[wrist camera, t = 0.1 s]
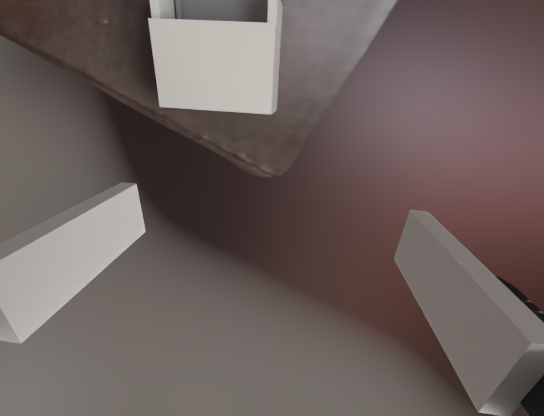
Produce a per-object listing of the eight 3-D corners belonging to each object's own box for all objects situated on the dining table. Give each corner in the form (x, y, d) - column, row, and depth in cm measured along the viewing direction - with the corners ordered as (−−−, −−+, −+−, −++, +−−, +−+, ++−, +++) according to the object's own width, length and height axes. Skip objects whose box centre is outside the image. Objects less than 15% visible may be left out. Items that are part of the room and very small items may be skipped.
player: (174, 3, 32) (143, -18, 26) (282, 7, 31) (277, -14, 25) (183, 104, 37) (159, 106, 31) (276, 110, 36) (271, 114, 30)
